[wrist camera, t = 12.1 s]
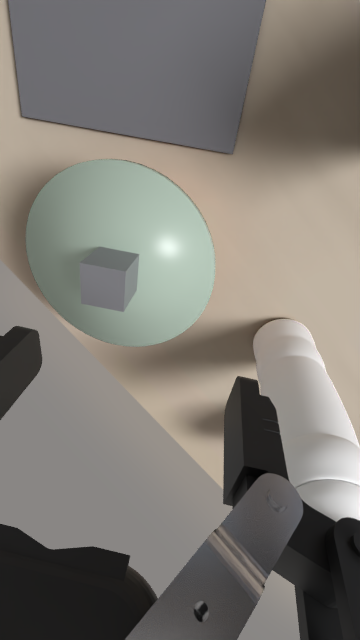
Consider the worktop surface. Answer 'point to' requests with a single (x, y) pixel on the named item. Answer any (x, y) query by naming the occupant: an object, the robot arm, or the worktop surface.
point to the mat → (138, 65)
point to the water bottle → (309, 419)
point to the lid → (120, 252)
